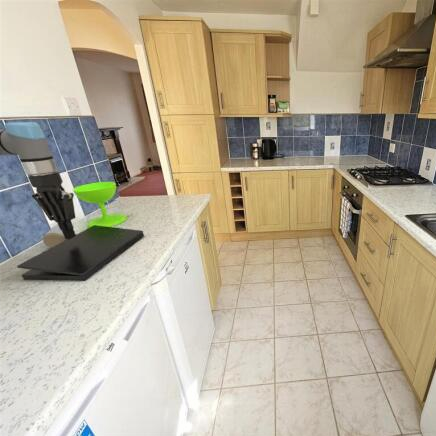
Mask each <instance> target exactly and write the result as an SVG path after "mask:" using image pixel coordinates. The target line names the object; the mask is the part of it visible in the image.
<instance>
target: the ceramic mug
mask: <svg viewBox="0 0 436 436" xmlns="http://www.w3.org/2000/svg"><path fill="white" fill-rule="evenodd" d="M73 230H74V232H75V235H77V234H78V233H76V231H75V229H73ZM65 240H67V239H65V237H64V235H63V232H62V230H60V228H59V226H58V224H55V225H53V227H51V228H50V229H49V231H47V232H46V233H45V234H44V236H43V238H42V242H43V244H44V246H46V247H47V248H49V249H50V248H52V247H54V246H56V245H58V244H60V243H61V242H63V241H65Z"/></svg>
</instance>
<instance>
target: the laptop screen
mask: <svg viewBox="0 0 436 436" xmlns="http://www.w3.org/2000/svg"><path fill="white" fill-rule="evenodd" d="M141 233H143V234H144V230H139V229H133V228H132V229H131V228H123V227H122V228H121V227H114V226H111V227H106V226H97V225H94V226H92V227H90V228H88V227H87V228H86V229H84V230H82V231H79V233H76V234H77V235H76V236H75V237H73V238H71V239H67V240H65V241H63V242H61V243H60V244H58V245H56V246H54V247H52V248H50V247H49V248H48V249H46V250H44V251H42V252H41V253H39V254H37V255H34V256H33V257H31V258H29V259H27V260H25V261H23V262H22V263H19V264H18V265H16V268H17V269H21V270H39V271H48V272H56V273H64V274H73V275H81V276H84V275H85V274H86V273H88V272H89V271H90V270H92V269H93V268H95V267H96V266H97V265H99V264H100V263H102V262H103V261H104V260H106V259H107V258H108V257H110V256H111V255H113V254H114V253H115V252H117V251H118V250H119V249H121V248H122V247H124V246H125V245H126V244H128V243H129V242H130V241H132V240H133V239H135V238H136V237H137V236H139V235H140V234H141Z"/></svg>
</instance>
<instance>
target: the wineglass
mask: <svg viewBox="0 0 436 436" xmlns="http://www.w3.org/2000/svg"><path fill="white" fill-rule="evenodd" d="M72 191H73V192H72V193H73V194H74V196H76V197H77V198H78V199H79V200H81V201H83V202H86V203H88V204H93V205H95V204H98V206H99V209H100V212H101V215H102V216H99V217H96V218H94V219H92V220H90V221H89V222H88V223H87V225H86V227H87V229H88V228H90V227H92V226H94V225H97V226H106V227H114V226H118V225H119V224H122V223H123V222H126V221H127V216H126V215H125V214H120V213H116V214H115V213H114V214H108V212H107V208H106V206H105V203H106V202H108V201H110V200H111V199H112V198H114V196H115V194H116V191H117V184H116V182H114V181H101V182H93V183H87V184H83V185H78V186H76V187H74V188H73V189H72Z"/></svg>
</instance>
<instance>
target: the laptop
mask: <svg viewBox="0 0 436 436" xmlns="http://www.w3.org/2000/svg"><path fill="white" fill-rule="evenodd" d="M144 237H145V234H144V232H143V233H141V234H140V235H139V236H137V237H136V238H135V239H133V240H132V241H130V242H129V243H128V244H126V245H125V246H124V247H122V248H121V249H119V250H118V251H117V252H115V253H114V254H113V255H111V256H110V257H108V258H107V259H106V260H104V261H103V262H102V263H100V264H99V265H97V266H96V267H95V268H93V269H92V270H90V271H89V272H88V273H86V274H85V275H84V276H81V275H73V274H64V273H56V272H48V271H39V270H31V269H28V271H26V272H24V273H23V274H21V277H22V279H23V280H24V281H25V280H26V281H71V282H72V281H73V282H74V281H76V282H79V281H80V282H86V281H87V280H89V279H90V278H91V277H92V276H94V275H96V274H97V273H98V272H99V271H101V270H102V269H103V268H105V267H106V266H107V265H108V264H110V263H111V262H112V261H114V260H115V259H117V258H118V257H119V256H120V255H122V254H123V253H125V252H126V251H127V250H128V249H129V248H131V247H132V246H134V245H135V244H136V243H138V242H139V241H140V240H141V239H143V238H144Z"/></svg>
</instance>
